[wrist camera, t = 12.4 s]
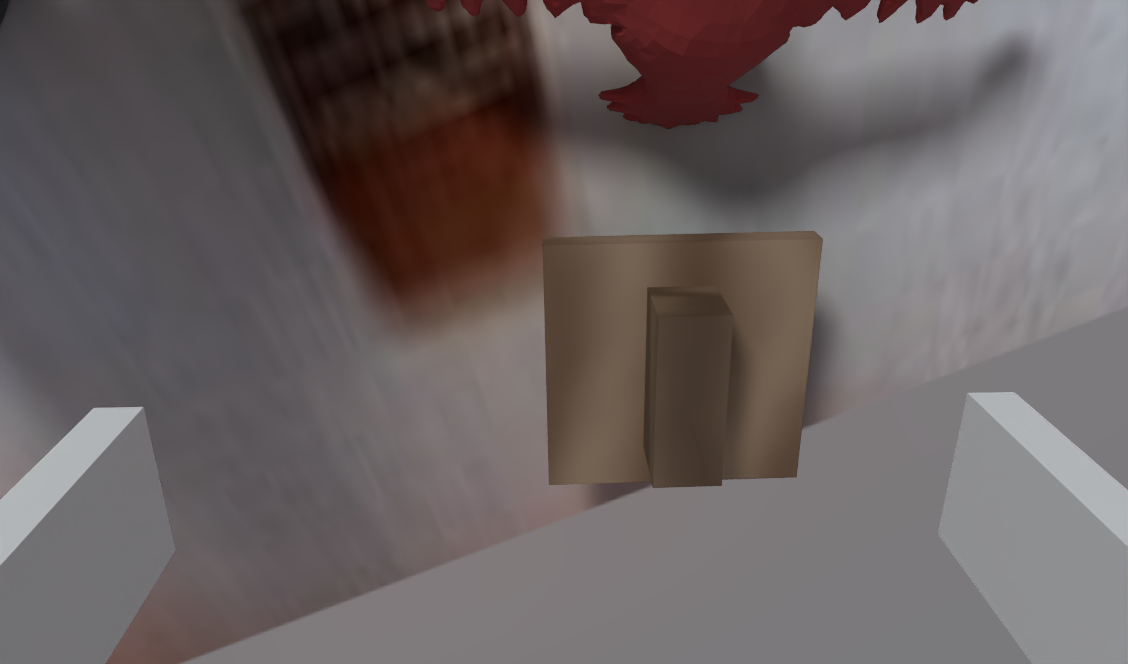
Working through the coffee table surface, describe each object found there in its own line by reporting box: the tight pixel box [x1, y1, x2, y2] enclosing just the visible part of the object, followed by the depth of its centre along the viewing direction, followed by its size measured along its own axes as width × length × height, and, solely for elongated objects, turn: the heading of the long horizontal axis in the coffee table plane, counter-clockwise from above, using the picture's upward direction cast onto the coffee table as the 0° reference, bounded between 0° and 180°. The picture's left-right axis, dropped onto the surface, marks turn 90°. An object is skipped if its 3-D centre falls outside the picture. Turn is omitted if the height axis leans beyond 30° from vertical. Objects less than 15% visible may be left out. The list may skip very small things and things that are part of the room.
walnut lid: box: [543, 231, 823, 488], centre depth 37 cm, size 12×12×5 cm
